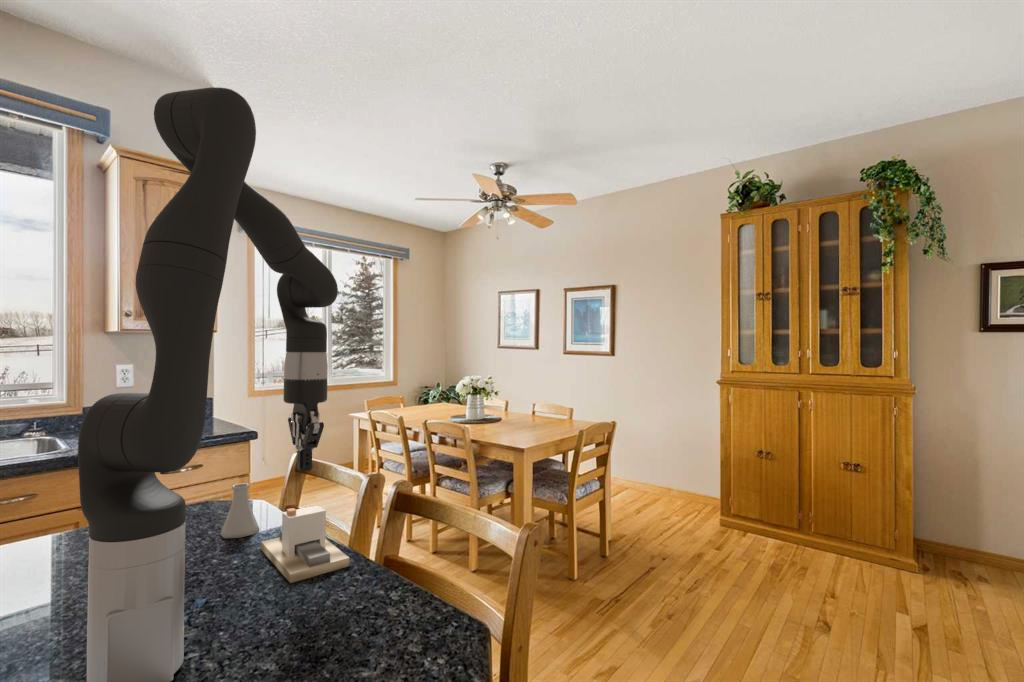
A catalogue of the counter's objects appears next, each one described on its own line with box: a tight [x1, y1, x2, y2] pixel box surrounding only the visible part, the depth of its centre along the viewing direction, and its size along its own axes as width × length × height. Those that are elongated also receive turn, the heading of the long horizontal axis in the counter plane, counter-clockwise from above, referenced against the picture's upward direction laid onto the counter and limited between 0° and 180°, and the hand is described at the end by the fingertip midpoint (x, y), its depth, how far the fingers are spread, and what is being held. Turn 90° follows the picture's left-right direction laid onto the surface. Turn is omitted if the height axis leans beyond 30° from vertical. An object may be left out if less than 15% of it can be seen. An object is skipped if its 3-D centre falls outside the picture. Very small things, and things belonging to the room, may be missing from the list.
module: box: [281, 505, 327, 558], centre depth 92 cm, size 4×6×8 cm, turn 131°
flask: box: [219, 482, 260, 539], centre depth 104 cm, size 7×7×10 cm
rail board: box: [260, 529, 350, 584], centre depth 92 cm, size 18×10×3 cm, turn 41°
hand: (304, 470), depth 92 cm, fingers closed
